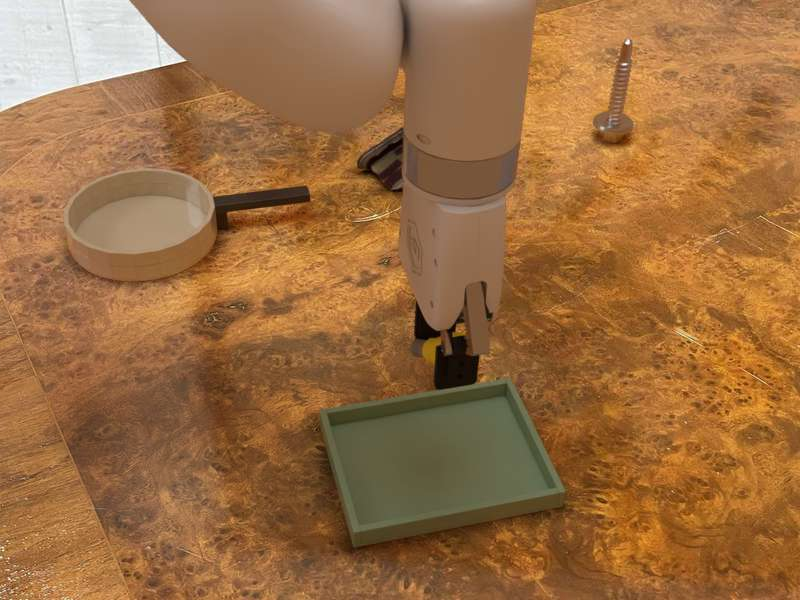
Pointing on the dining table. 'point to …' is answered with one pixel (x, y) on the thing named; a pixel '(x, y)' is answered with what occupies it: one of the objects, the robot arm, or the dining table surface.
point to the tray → (437, 461)
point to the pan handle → (257, 201)
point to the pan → (140, 224)
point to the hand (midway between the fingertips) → (444, 358)
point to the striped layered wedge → (386, 160)
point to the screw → (617, 100)
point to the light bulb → (429, 347)
